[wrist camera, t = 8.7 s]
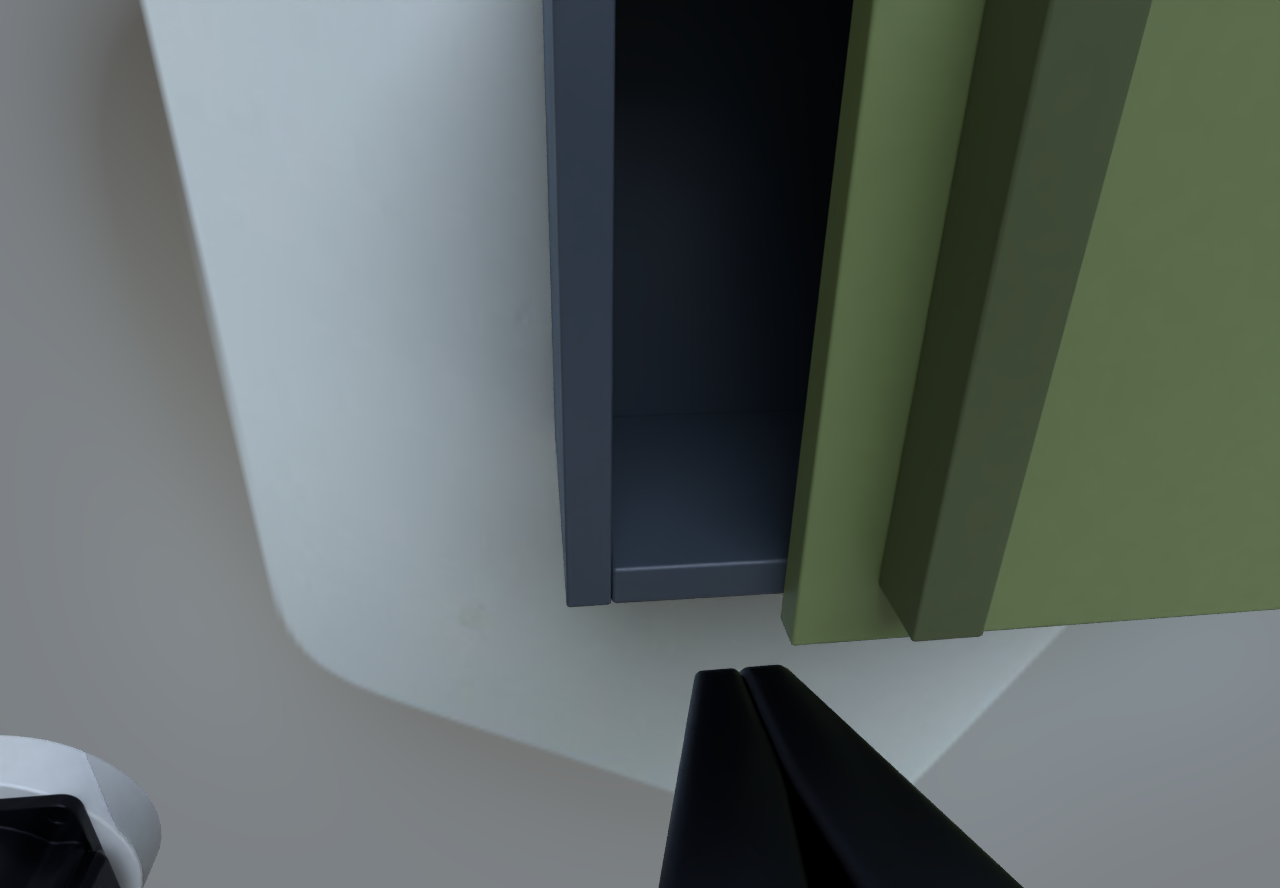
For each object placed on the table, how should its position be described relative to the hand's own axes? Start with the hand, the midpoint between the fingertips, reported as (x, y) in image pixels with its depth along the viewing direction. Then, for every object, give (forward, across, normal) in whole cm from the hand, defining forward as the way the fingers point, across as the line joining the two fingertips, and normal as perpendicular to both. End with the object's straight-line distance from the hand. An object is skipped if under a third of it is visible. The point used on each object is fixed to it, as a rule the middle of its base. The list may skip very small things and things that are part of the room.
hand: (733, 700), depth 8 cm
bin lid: (+6, -10, -2) cm, 12 cm away
